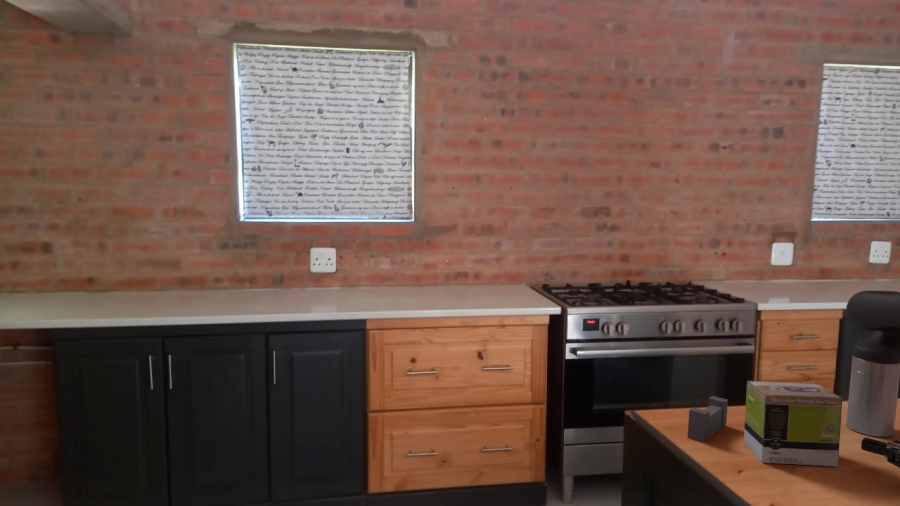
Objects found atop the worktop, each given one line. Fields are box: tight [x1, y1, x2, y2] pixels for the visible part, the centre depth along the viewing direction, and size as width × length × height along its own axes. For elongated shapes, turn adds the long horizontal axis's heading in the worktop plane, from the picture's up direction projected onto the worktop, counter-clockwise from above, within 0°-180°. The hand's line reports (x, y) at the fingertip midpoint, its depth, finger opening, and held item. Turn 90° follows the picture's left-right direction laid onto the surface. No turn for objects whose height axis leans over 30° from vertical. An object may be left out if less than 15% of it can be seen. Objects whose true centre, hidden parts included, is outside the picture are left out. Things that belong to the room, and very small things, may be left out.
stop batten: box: [687, 395, 729, 443], centre depth 136 cm, size 14×4×6 cm, turn 136°
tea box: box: [743, 380, 843, 468], centre depth 124 cm, size 15×10×15 cm
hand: (862, 443), depth 115 cm, fingers closed
